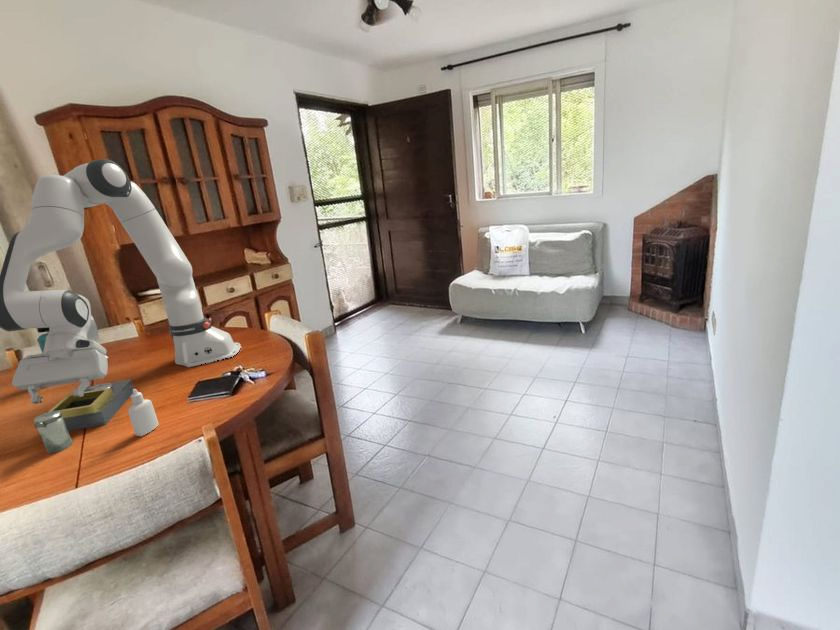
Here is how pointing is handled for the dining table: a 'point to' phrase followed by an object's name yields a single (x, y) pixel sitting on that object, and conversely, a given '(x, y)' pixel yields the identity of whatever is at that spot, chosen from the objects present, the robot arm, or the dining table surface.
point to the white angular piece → (93, 332)
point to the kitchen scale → (94, 405)
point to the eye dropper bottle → (142, 414)
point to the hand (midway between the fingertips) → (57, 399)
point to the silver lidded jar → (53, 431)
